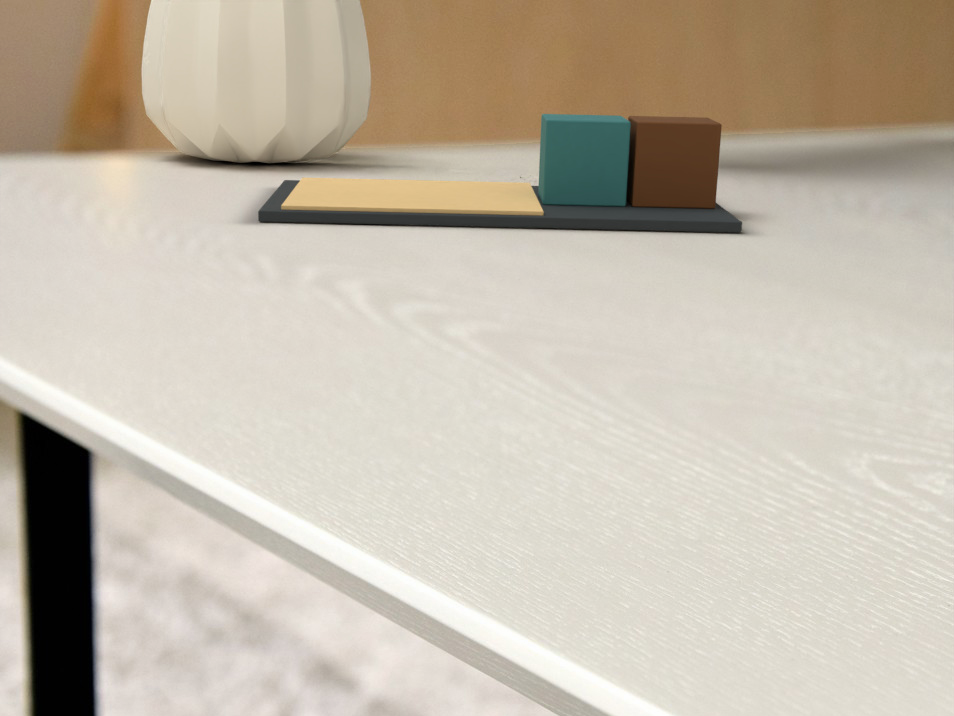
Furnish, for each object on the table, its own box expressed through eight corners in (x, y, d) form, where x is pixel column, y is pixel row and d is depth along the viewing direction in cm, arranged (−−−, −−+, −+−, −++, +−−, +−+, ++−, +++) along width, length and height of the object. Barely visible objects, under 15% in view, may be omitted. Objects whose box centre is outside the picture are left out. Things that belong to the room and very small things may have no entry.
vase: (289, 176, 93) (288, -75, 89) (100, 159, 99) (91, -75, 95) (411, 158, 104) (415, -65, 100) (234, 144, 111) (231, -66, 106)
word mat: (698, 198, 86) (704, 111, 85) (741, 232, 74) (749, 131, 73) (284, 189, 87) (283, 102, 85) (258, 221, 74) (257, 120, 73)
